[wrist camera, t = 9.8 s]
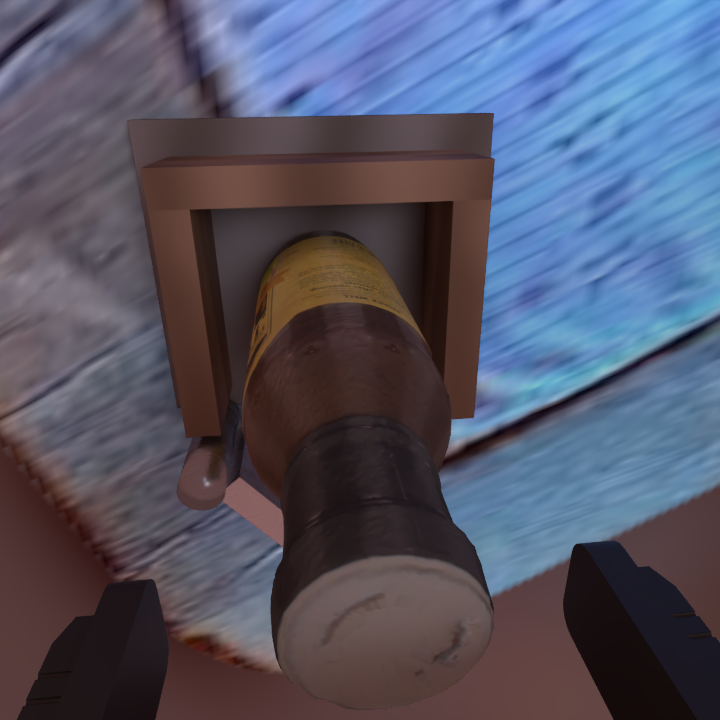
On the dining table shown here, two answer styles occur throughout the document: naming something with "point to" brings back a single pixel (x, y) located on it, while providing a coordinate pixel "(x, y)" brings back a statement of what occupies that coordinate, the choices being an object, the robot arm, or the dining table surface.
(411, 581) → the sauce bottle
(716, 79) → the dining table surface
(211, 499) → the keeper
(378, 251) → the cradle
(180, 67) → the dining table surface
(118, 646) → the robot arm
